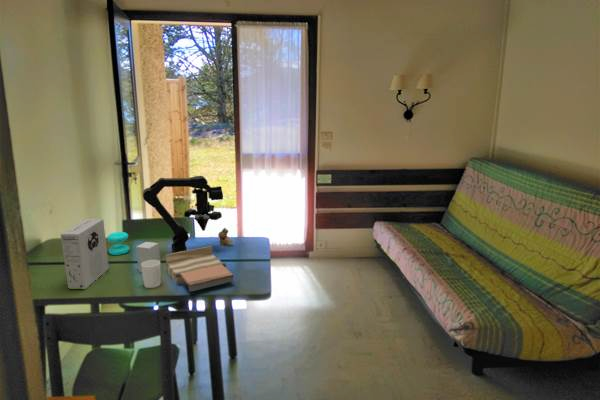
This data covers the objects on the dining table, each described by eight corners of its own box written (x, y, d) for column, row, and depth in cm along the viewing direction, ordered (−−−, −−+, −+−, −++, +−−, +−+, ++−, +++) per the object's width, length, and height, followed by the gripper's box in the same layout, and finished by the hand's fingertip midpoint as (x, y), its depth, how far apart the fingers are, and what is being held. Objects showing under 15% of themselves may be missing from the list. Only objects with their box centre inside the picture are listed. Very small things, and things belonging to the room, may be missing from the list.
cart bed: (166, 271, 200) (164, 254, 198) (212, 261, 212) (211, 245, 209) (177, 286, 185) (175, 267, 183) (226, 274, 197) (225, 257, 195)
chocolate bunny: (226, 241, 240) (225, 224, 237) (234, 245, 234) (233, 227, 232) (217, 243, 236) (217, 226, 234) (225, 247, 231) (224, 230, 228)
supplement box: (161, 268, 204) (159, 242, 201) (151, 274, 197) (149, 248, 194) (148, 265, 206) (146, 241, 203) (138, 271, 200) (135, 246, 196)
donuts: (105, 233, 222) (125, 229, 228) (107, 251, 225) (127, 247, 230) (109, 238, 214) (130, 235, 220) (111, 257, 217) (131, 253, 222)
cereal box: (93, 269, 202) (87, 218, 196) (109, 269, 202) (103, 218, 196) (68, 290, 181) (60, 233, 175) (85, 290, 181) (78, 234, 175)
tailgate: (180, 273, 186) (190, 284, 175) (221, 264, 196) (233, 274, 185) (180, 279, 187) (190, 291, 176) (221, 270, 196) (233, 281, 186)
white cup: (145, 281, 190) (143, 260, 188) (163, 280, 191) (162, 259, 188) (140, 289, 182) (138, 267, 180) (159, 288, 183) (157, 266, 181)
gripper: (226, 198, 222) (227, 227, 225) (194, 196, 227) (196, 224, 231) (215, 204, 211) (217, 234, 215) (182, 201, 217) (184, 230, 221)
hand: (203, 230), depth 221 cm, fingers closed
